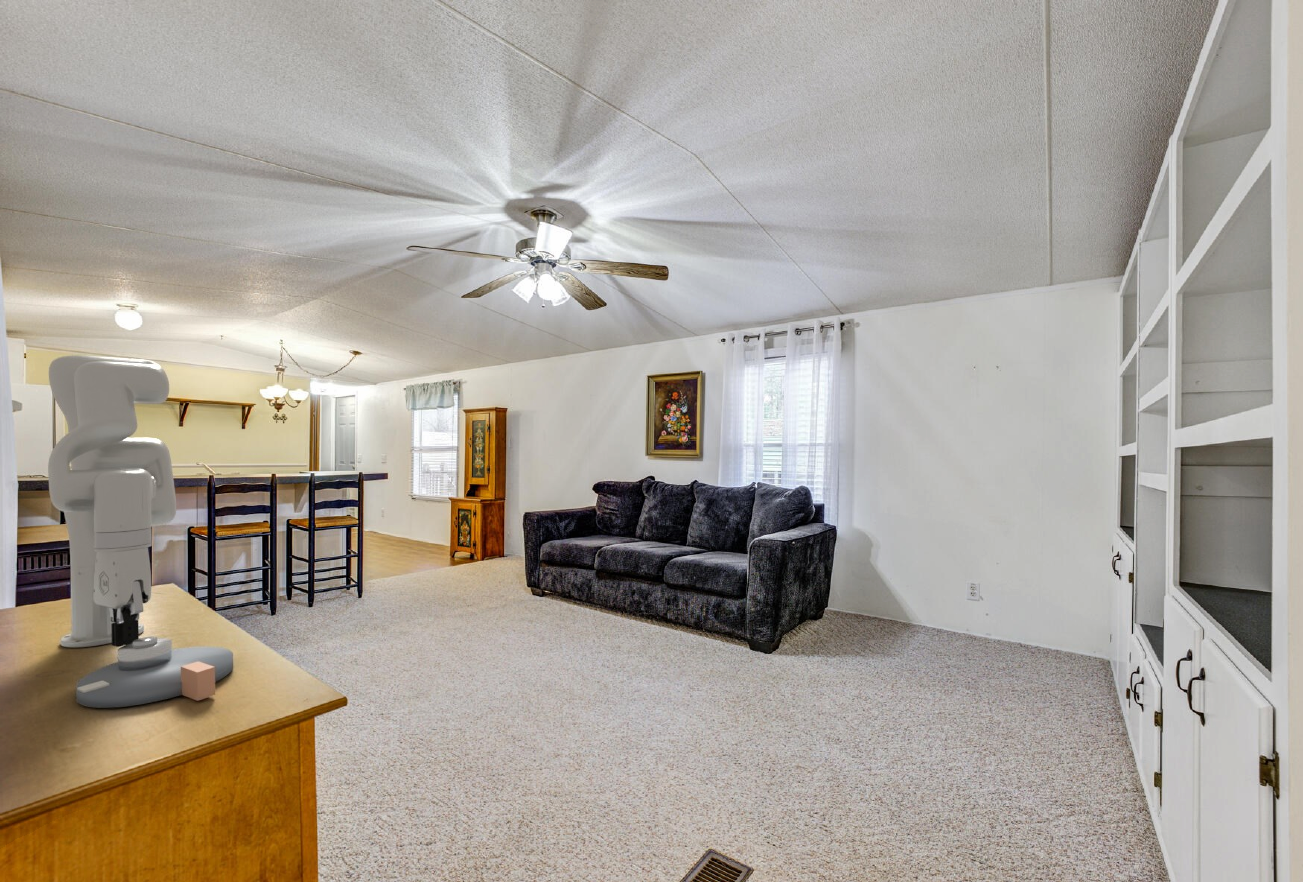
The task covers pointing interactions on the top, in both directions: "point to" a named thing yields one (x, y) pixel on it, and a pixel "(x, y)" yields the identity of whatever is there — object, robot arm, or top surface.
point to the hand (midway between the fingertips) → (125, 643)
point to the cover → (144, 653)
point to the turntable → (157, 679)
